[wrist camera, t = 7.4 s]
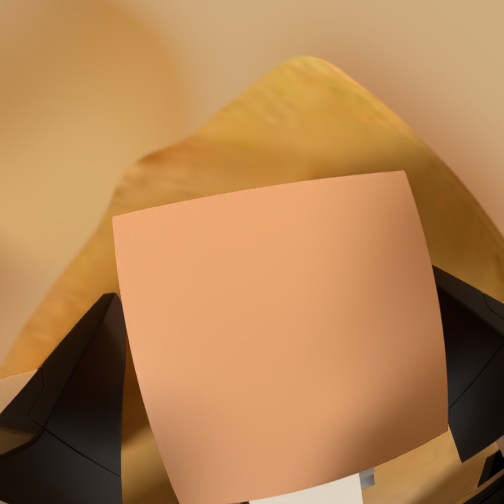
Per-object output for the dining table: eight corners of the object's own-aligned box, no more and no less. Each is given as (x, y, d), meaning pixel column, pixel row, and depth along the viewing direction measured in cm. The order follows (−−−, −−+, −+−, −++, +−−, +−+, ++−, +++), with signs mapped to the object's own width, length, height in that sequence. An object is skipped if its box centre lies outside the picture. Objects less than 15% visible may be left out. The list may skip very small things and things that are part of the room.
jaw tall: (303, 348, 17) (447, 430, 4) (218, 366, 16) (180, 507, 4) (286, 265, 18) (404, 170, 5) (201, 281, 17) (112, 216, 4)
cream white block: (329, 457, 16) (362, 505, 10) (254, 477, 15) (262, 534, 9) (316, 393, 16) (351, 429, 10) (234, 414, 16) (234, 462, 10)
